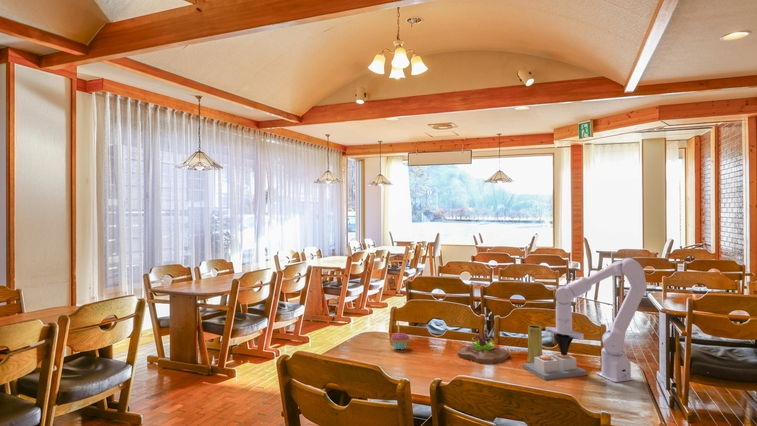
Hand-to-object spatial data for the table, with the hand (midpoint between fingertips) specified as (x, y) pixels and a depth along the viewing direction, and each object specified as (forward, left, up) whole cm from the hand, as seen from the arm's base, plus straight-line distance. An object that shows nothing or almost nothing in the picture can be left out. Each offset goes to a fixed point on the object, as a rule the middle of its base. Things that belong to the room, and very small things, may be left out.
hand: (564, 354), depth 175 cm
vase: (+13, +4, -6) cm, 15 cm away
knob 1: (0, +8, -5) cm, 9 cm away
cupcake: (+46, +51, -6) cm, 69 cm away
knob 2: (0, 0, -5) cm, 5 cm away
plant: (+26, +20, -7) cm, 34 cm away
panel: (+1, +4, -6) cm, 8 cm away
